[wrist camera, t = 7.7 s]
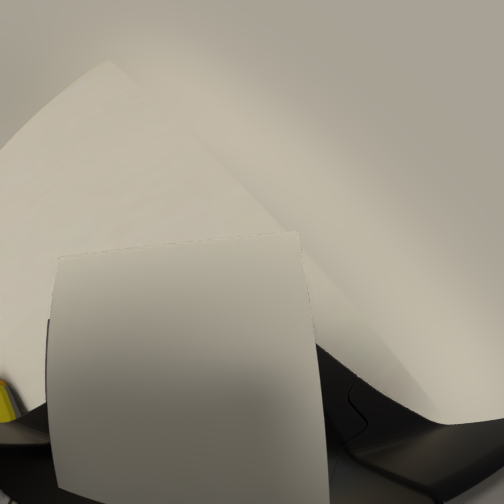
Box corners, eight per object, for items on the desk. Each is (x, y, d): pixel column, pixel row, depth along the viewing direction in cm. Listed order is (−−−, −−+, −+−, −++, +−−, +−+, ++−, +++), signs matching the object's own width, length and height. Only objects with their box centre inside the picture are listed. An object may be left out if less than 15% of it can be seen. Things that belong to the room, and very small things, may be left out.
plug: (282, 416, 13) (329, 512, 2) (206, 421, 13) (58, 487, 2) (275, 339, 15) (294, 213, 4) (201, 345, 15) (62, 241, 4)
